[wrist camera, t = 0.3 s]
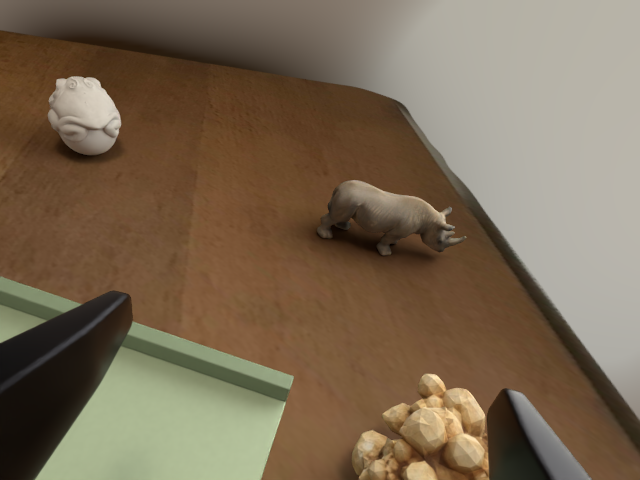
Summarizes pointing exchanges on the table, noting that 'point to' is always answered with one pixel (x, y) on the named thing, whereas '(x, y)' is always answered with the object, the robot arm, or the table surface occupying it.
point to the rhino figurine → (387, 216)
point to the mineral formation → (427, 439)
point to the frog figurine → (84, 115)
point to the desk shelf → (160, 405)
